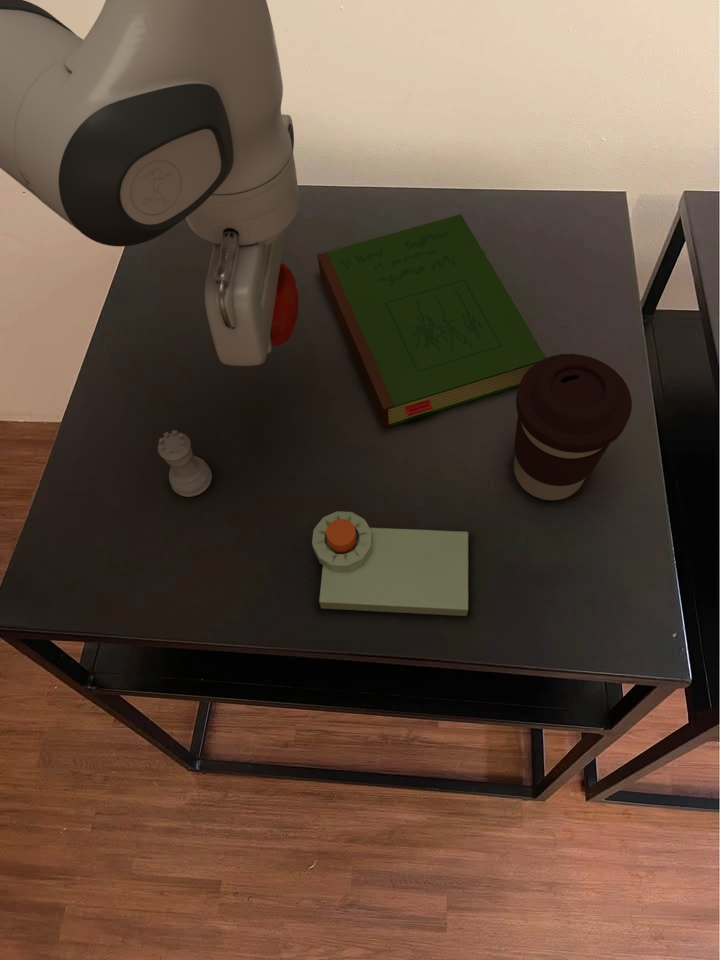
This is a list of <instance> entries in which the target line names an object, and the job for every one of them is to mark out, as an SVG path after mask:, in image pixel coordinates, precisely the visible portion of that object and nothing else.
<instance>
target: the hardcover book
mask: <svg viewBox="0 0 720 960" xmlns="http://www.w3.org/2000/svg"><path fill="white" fill-rule="evenodd" d="M317 262H318V263H317V264H318V269H319V276H320V280H321V282H322V284H323V286H324V290H325V291H326V294H327V297H328V299H329V300H330V303H331V305H332V308H333V310H334V313H335V315H336V317H337V319H338V322H339V324H340V326H341V329H342V332H343V334H344V336H345V338H346V341H347V343H348V346H349V348H350V351H351V353H352V355H353V357H354V360H355V361H356V362H355V363H356V365H357V367H358V369H359V372H360V374H361V377H362V379H363V381H364V384H365V386H366V388H367V391H368V393H369V395H370V397H371V401H372V402H373V404H374V407H375V410H376V412H377V415H378V417H379V419H380V422H381V424H382V426H383V429H388V428H391V427H394V426H397V425H401V424H404V423H407V422H410V421H413V420H417V419H420V418H423V417H426V416H430V415H433V414H436V413H439V412H442V411H446V410H449V409H451V408H455V407H458V406H461V405H465V404H468V403H471V402H475V401H478V400H481V399H483V398H487V397H490V396H493V395H497V394H500V393H502V392H507V391H509V390H513V389H516V388H519V384H520V382H521V379H522V378H523V376H524V374H525V373H526V372H527V371H528V370H529V369H530V368H531V367H532V366H533V365H534V364H536V363H537V362H539V361H541V360H543V359H545V358H547V356H546V355H545V353H544V352H543V349H542V348H541V346H540V345H539V343H538V341H537V340H536V338H535V336H534V334H533V333H532V331H531V329H530V327H529V326H528V324H527V322H526V321H525V319H524V318H523V316H522V314H521V313H520V311H519V308H517V306H516V303H515V302H514V301H513V299H512V298H511V296H510V294H509V292H508V290H507V288H506V287H505V286H504V284H503V283H502V281H501V278H499V275H498V274H497V272H496V271H495V269H494V267H493V265H492V264H491V262H490V260H489V259H488V257H487V255H486V253H485V252H484V250H483V249H482V247H481V245H480V244H479V242H478V240H477V239H476V236H475V235H474V233H473V232H472V230H471V229H470V227H469V225H468V223H467V222H466V220H465V218H464V216H463V215H462V214H461V213H459V214H456V215H453V216H449V217H446V218H442V219H438V220H435V221H432V222H428V223H424V224H420V225H416V226H414V227H410V228H407V229H403V230H400V231H399V230H398V231H395V232H392V233H388V234H385V235H381V236H378V237H375V238H371V239H367V240H363V241H361V242H356V243H354V244H349V245H346V246H343V247H339V248H335V249H331V250H328V251H325V252H322V253H318V254H317Z"/></svg>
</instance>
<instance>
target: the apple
mask: <svg viewBox="0 0 720 960" xmlns="http://www.w3.org/2000/svg"><path fill="white" fill-rule="evenodd" d="M299 307H300V301H299V291H298V287H297V282H296V278H295V275H294V274H293V272H292V270H291V269H290V268H289V267H288V266H287V265H285V264H284V263H282V262H281V266H280V272H279V279H278V285H277V292H276V298H275V305H274V311H273V318H272V324H271V330H272V336H273V344H272V347H278V346H280V345H282V344H285V343H287V341H288V340H289V339H290V338H291V337H292V336H293V333H294V330H295V327H296V324H297V320H298V317H299Z"/></svg>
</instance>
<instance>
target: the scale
mask: <svg viewBox="0 0 720 960" xmlns="http://www.w3.org/2000/svg"><path fill="white" fill-rule="evenodd" d="M337 519H346V520H348V521H350V522H351V523H352V524H353V525H354V527H355V530H356V537H357V541H356V544H355V546H354V547H353V548H352V549H351V550H350V551H348V552H344V553H339V552H336V551H334V550H332V549H331V548H330V546H329V544H328V540H327V536H326V530H327V527H328V526H329V524H330V523H331V522H333V521H334V520H337ZM311 546H312V549H313V552H314V554H315V556H316V559H317V560H318V562H319V564H320V565H322V570H321V579H320V589H319V598H318V602H319V603H318V604H319V606H320V609H326V610H344V611H345V610H346V611H365V612H386V613H399V614H400V613H402V614H422V615H438V616H439V615H440V616H458V617H459V616H460V617H467V616H468V612H469V532H468V531H460V530H459V531H456V530H437V529H436V530H435V529H434V530H433V529H413V528H411V529H410V528H387V527H370V526H369V524H368V522H367V521H366V519H364V518H363V517H361V516H360V515H358V514H356V513H355V512H353V511H337V510H336V511H334V512H332V513H329V514H328V515H326V516H323V517H322V518H321V519H320V521H318V523H317V525H316V526H315V527H314V528H313V531H312V539H311Z"/></svg>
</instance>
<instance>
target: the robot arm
mask: <svg viewBox="0 0 720 960" xmlns="http://www.w3.org/2000/svg"><path fill="white" fill-rule="evenodd" d="M283 94H284V83H283V77H282V69H281V63H280V58H279V52H278V46H277V41H276V35H275V30H274V26H273V22H272V17H271V12H270V9H269V6H268V2H267V0H105V1H104V4H103V6H102V8H101V11H100V12H99V14H98V16H97V18H96V19H95V22H94V23H93V25H92V26H91V28H90V30H89V31H88V33H87V34H86V36H85V37H84V38H82V37H80V36H78V35H77V34H76V33H75V32H74V31H73V30H72V29H70V27H68V26H67V25H65V24H64V23H63V22H61V21H60V20H59V19H57V18H56V17H55V16H54V15H52V14H51V13H49V12H48V11H47V10H45V9H44V8H42V7H40V6H39V5H36V4H34V3H32V2H30V1H27V0H0V169H1V170H2V171H3V172H5V173H6V174H7V175H8V176H9V177H11V178H12V179H13V180H15V182H17V183H18V184H20V186H22V187H23V188H24V189H26V190H27V191H28V192H30V193H31V194H32V195H33V196H34V197H36V198H37V199H38V200H39V201H40V202H41V203H42V204H44V205H45V206H46V207H48V208H49V209H50V210H51V211H53V212H54V213H55V214H56V215H58V217H60V218H61V219H62V220H64V221H65V222H67V224H69V225H70V226H72V227H73V228H75V229H76V230H77V231H78V232H80V234H82V235H83V236H85V237H86V238H87V239H89V240H91V241H93V242H96V243H98V244H101V245H104V246H109V247H121V248H122V247H131V246H136V245H141V244H143V243H147V242H149V241H152V240H154V239H156V238H158V237H160V236H161V235H163V234H165V233H166V232H168V231H170V230H171V229H172V228H174V227H175V226H177V225H178V224H179V223H181V222H182V221H184V220H186V221H185V222H186V223H187V224H188V227H189V228H190V229H191V230H192V231H193V232H194V233H195V234H196V235H197V236H198V237H200V238H201V239H203V240H204V241H207V242H210V243H212V244H213V247H212V251H211V257H210V261H209V266H208V269H207V275H206V280H205V285H204V286H205V287H204V304H205V311H206V312H205V313H206V317H207V321H208V324H209V329H210V333H211V337H212V341H213V345H214V348H215V352H216V355H217V357H218V359H219V361H220V362H221V364H224V365H227V366H233V367H253V366H254V367H255V366H260V365H263V364H264V363H265V362H266V360H267V357H268V354H270V353H271V352H272V350H273V346H272V344H273V336H272V330H271V324H272V318H273V311H274V305H275V298H276V292H277V285H278V279H279V272H280V266H281V263H282V259H283V258H282V257H283V251H284V245H285V240H286V232H287V227H288V226H289V225H290V224H291V223H292V222H293V220H294V219H295V217H296V216H297V213H298V212H299V208H300V190H299V185H298V179H297V178H298V176H297V170H296V162H295V155H294V147H295V132H294V131H295V129H294V124H293V119H292V116H291V115H290V114H282V104H283V103H282V102H283Z"/></svg>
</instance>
